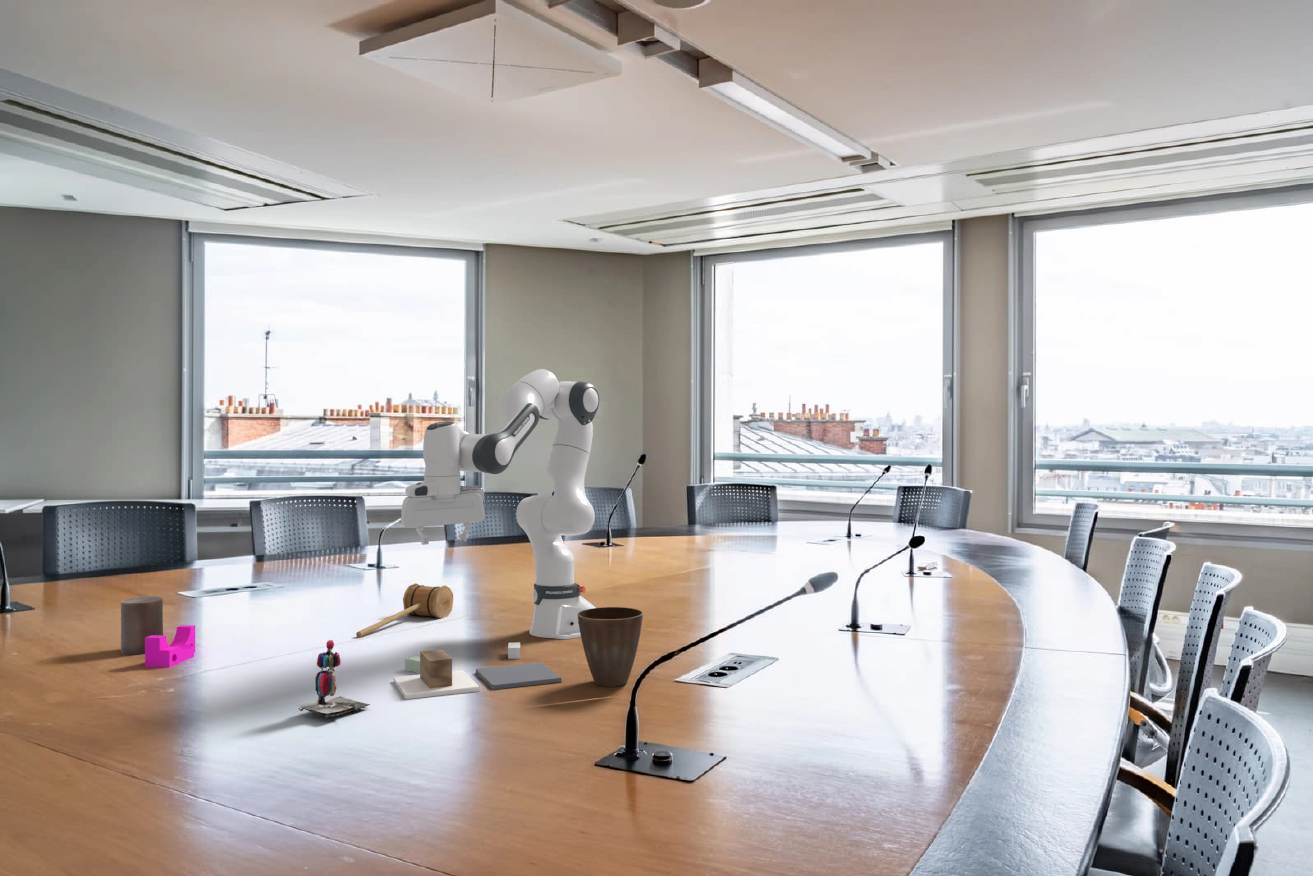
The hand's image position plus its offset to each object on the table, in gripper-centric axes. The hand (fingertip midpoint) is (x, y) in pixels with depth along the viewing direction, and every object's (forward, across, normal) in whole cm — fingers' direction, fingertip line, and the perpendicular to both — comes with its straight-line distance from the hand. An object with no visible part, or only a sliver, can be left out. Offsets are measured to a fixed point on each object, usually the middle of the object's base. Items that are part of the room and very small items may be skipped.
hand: (444, 542), depth 237 cm
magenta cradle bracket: (+29, +62, -29) cm, 74 cm away
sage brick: (+30, +8, +6) cm, 31 cm away
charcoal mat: (+30, -11, +23) cm, 39 cm away
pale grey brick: (+30, -17, +2) cm, 35 cm away
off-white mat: (+29, +8, +22) cm, 37 cm away
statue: (+29, +30, +34) cm, 54 cm away
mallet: (+32, +3, -49) cm, 58 cm away
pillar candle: (+28, +70, -42) cm, 86 cm away
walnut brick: (+28, +8, +22) cm, 37 cm away
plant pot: (+30, -29, +36) cm, 55 cm away
